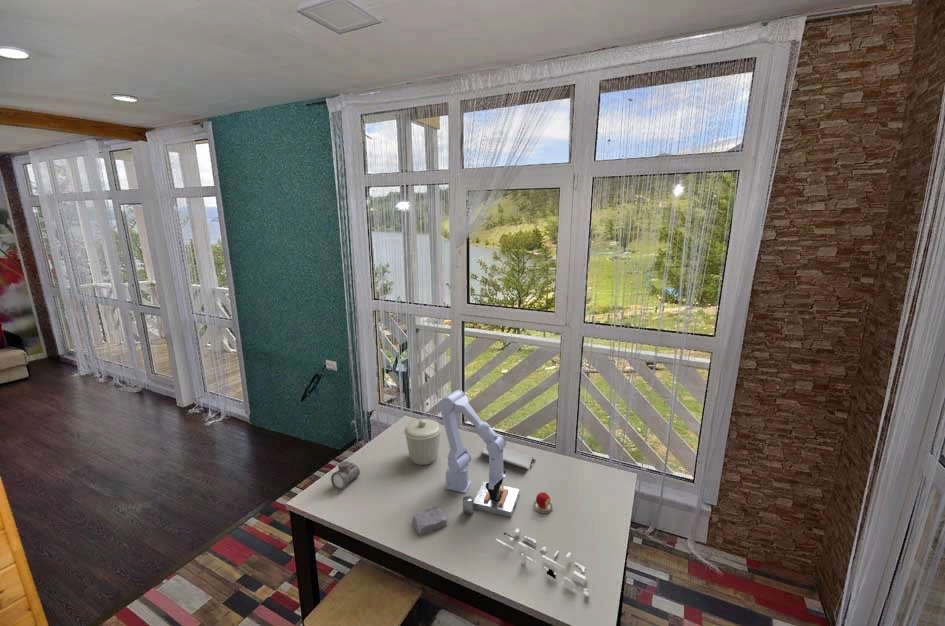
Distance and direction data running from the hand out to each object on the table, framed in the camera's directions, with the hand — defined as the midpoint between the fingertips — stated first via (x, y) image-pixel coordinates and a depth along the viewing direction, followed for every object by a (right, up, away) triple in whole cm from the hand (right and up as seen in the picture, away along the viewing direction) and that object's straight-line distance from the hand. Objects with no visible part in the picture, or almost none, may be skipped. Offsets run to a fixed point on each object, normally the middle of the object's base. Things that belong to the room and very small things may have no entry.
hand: (495, 493), depth 169 cm
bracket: (+1, -1, +2) cm, 3 cm away
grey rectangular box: (0, -4, +1) cm, 5 cm away
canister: (-34, +3, +31) cm, 46 cm away
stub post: (-11, -6, -4) cm, 14 cm away
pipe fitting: (-66, -2, +15) cm, 68 cm away
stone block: (-27, -8, -9) cm, 30 cm away
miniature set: (+16, -12, -26) cm, 33 cm away
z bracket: (+7, +3, +30) cm, 31 cm away
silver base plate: (0, -4, +2) cm, 5 cm away
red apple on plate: (+19, -5, -1) cm, 20 cm away
